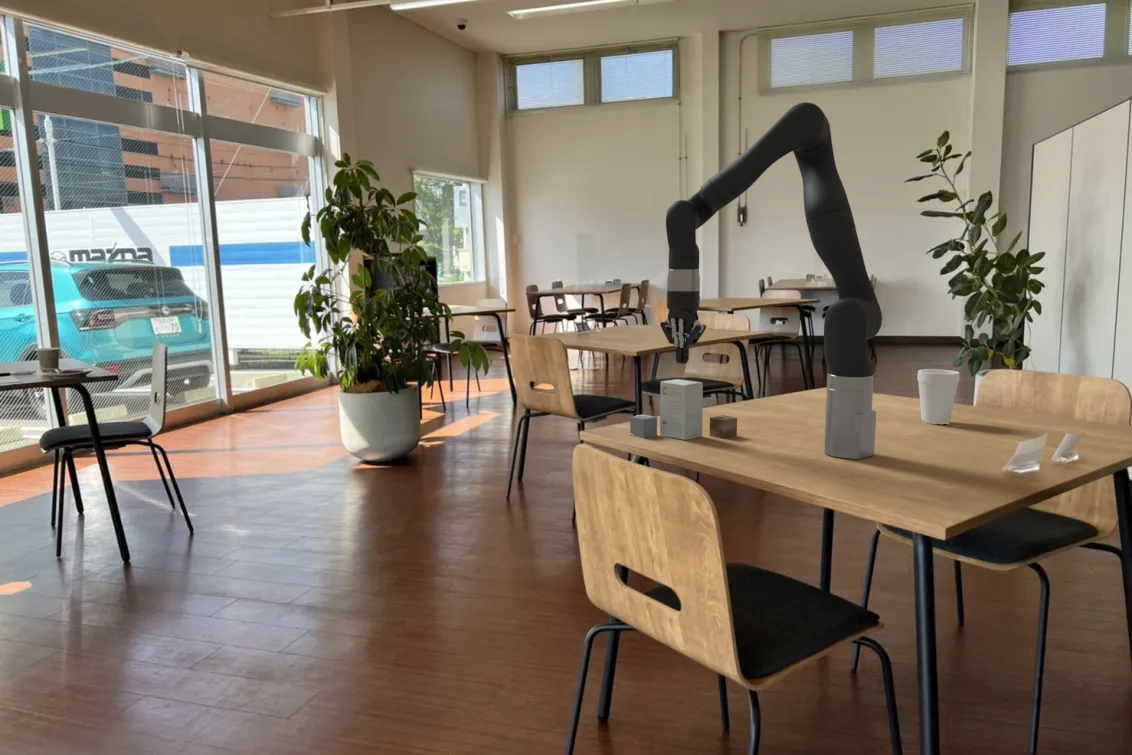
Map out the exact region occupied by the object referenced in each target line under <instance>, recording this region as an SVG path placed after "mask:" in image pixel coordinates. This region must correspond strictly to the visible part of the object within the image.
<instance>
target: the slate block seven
mask: <svg viewBox="0 0 1132 755" xmlns="http://www.w3.org/2000/svg"><path fill="white" fill-rule="evenodd" d="M629 421H630V424H629V426H630V427H629V429H630V431H629V434H630V433H632V434H634V435H636V436H635V437H637V436H639V437H638V438H641V439H646V438H651V437H656V436H658V417H657V416H653V415H648V414H637V415H634V416H630V420H629Z"/></svg>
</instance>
